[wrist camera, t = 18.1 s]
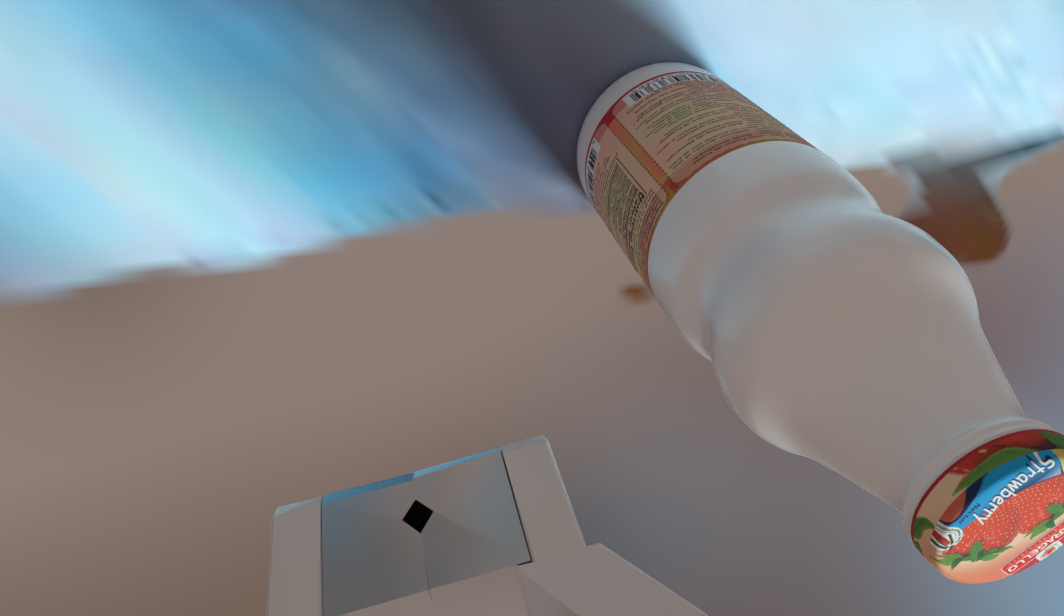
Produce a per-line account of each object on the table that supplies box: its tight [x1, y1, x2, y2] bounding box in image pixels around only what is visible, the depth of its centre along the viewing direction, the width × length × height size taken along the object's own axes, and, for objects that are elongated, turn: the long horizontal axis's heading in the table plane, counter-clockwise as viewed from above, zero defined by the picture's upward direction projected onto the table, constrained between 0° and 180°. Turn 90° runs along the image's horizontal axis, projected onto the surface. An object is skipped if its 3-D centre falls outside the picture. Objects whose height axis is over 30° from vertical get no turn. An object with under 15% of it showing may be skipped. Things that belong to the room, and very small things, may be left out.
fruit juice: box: [577, 62, 1064, 583], centre depth 33 cm, size 9×9×28 cm
